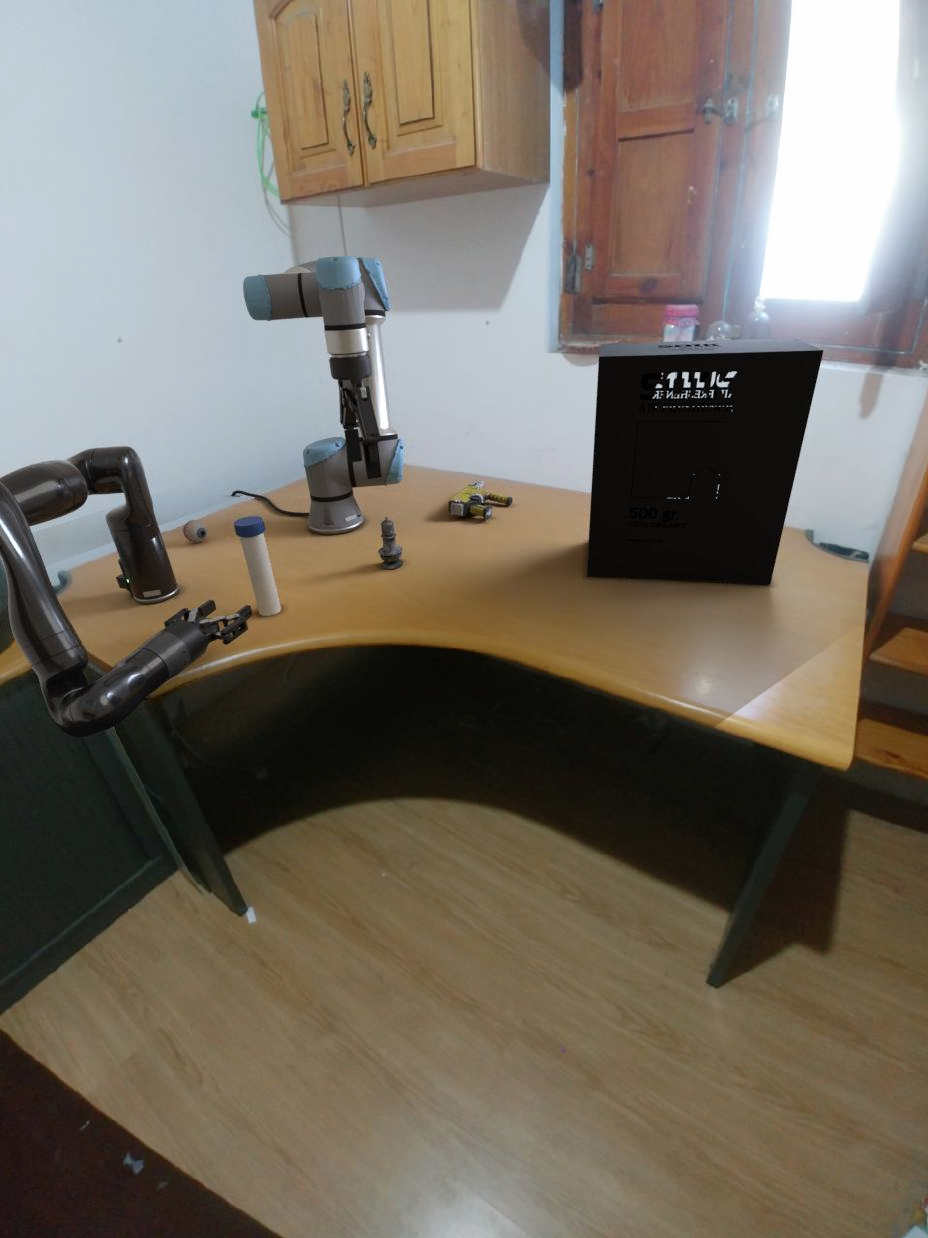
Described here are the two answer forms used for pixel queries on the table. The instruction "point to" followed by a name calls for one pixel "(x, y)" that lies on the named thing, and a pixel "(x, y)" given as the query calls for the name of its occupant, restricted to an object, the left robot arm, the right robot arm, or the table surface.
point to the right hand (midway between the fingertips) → (364, 469)
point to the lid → (249, 526)
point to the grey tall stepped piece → (389, 546)
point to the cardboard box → (696, 457)
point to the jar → (261, 574)
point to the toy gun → (475, 501)
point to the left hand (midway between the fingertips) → (231, 606)
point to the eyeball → (195, 531)
